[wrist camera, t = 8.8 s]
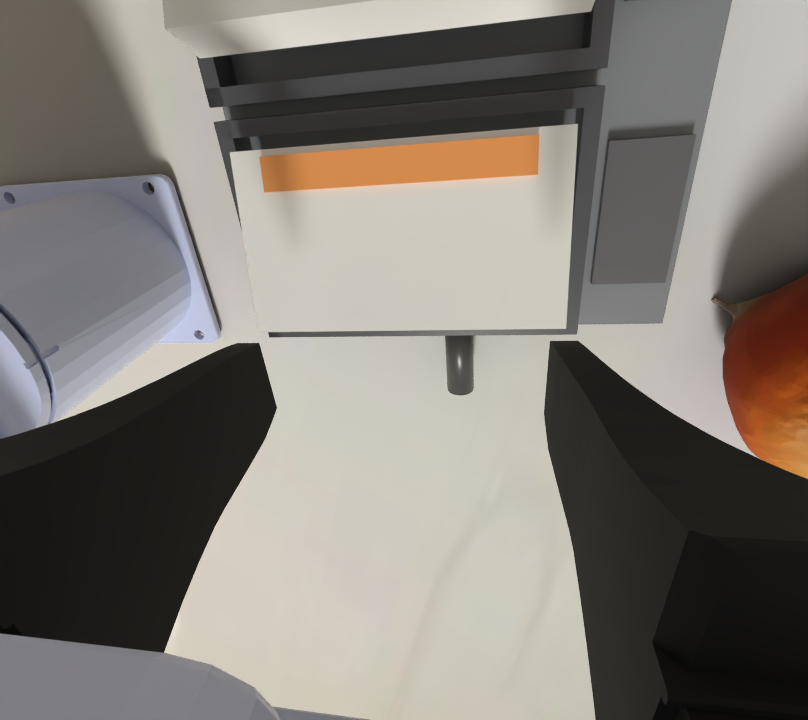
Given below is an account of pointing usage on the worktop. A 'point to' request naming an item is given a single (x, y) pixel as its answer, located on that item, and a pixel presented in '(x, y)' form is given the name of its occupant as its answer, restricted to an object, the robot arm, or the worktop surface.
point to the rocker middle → (335, 20)
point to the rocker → (411, 232)
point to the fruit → (770, 374)
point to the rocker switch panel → (513, 109)
